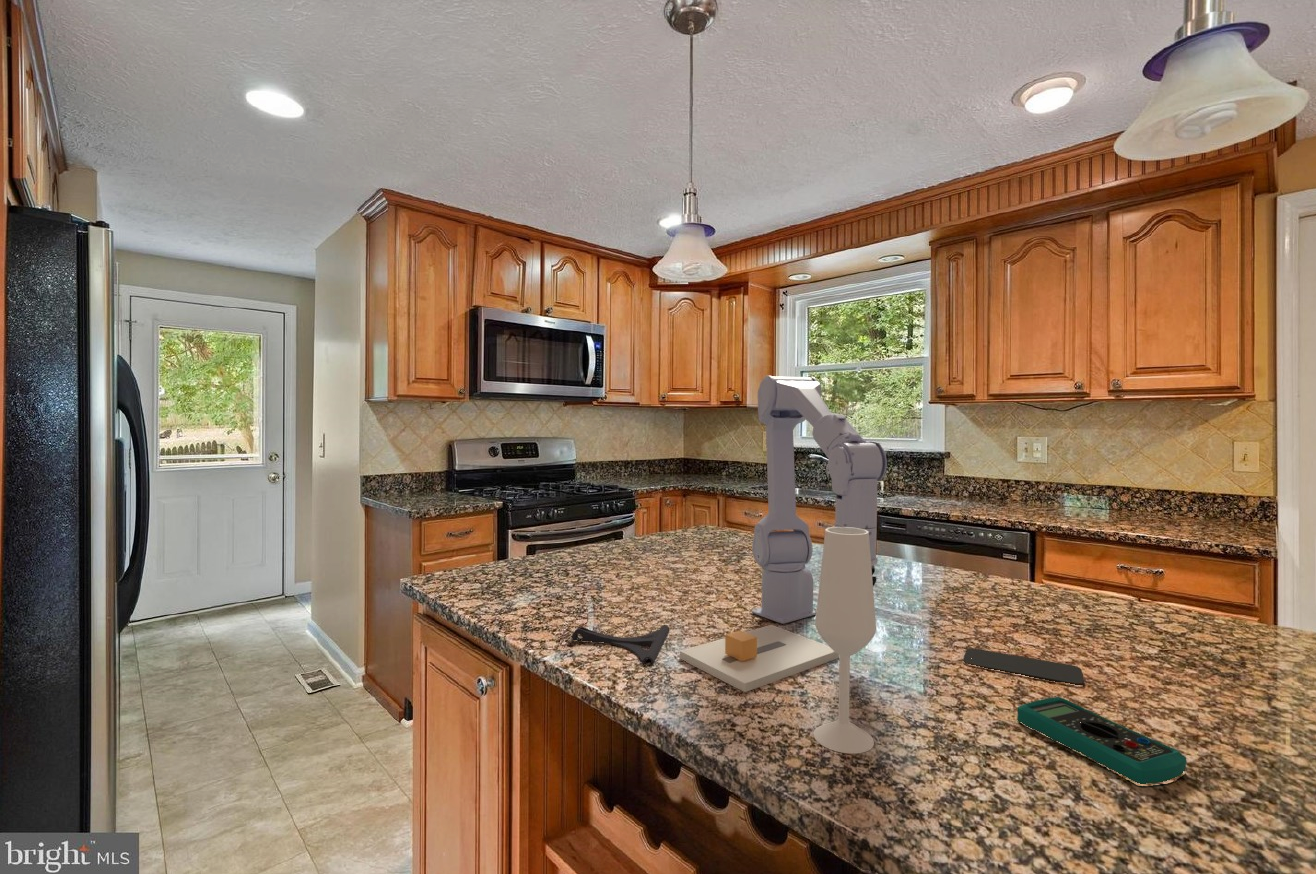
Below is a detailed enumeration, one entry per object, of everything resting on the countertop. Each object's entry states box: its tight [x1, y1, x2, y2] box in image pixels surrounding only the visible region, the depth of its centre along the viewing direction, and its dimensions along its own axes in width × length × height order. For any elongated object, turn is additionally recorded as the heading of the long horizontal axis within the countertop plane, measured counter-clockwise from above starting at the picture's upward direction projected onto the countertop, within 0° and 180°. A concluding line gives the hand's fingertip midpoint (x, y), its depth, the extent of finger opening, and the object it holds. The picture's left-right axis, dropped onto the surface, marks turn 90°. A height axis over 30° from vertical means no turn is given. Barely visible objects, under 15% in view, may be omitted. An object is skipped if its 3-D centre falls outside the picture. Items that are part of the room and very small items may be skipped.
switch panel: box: [679, 624, 839, 693], centre depth 94 cm, size 20×14×1 cm
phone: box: [962, 647, 1084, 686], centre depth 91 cm, size 7×1×15 cm
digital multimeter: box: [1016, 696, 1187, 784], centre depth 69 cm, size 7×15×3 cm, turn 20°
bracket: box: [571, 624, 670, 665], centre depth 100 cm, size 14×15×3 cm
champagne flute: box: [813, 526, 877, 755], centre depth 71 cm, size 7×7×24 cm
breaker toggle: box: [724, 630, 757, 661], centre depth 92 cm, size 3×4×3 cm
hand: (854, 618), depth 90 cm, fingers closed on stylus, 3 cm apart
